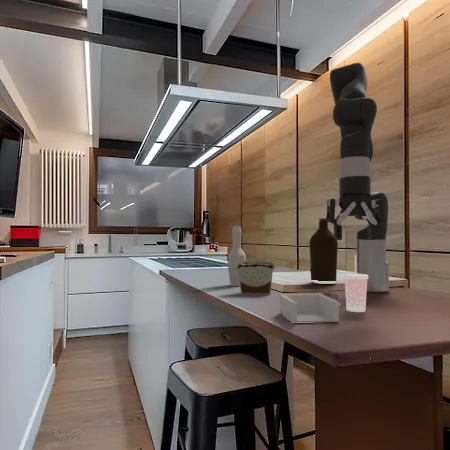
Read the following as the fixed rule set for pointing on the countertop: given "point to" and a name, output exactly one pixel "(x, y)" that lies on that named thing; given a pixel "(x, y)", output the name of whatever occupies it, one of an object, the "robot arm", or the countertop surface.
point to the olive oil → (323, 253)
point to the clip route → (330, 295)
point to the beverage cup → (355, 290)
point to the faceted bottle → (235, 257)
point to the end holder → (309, 308)
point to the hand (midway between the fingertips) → (354, 239)
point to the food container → (255, 277)
